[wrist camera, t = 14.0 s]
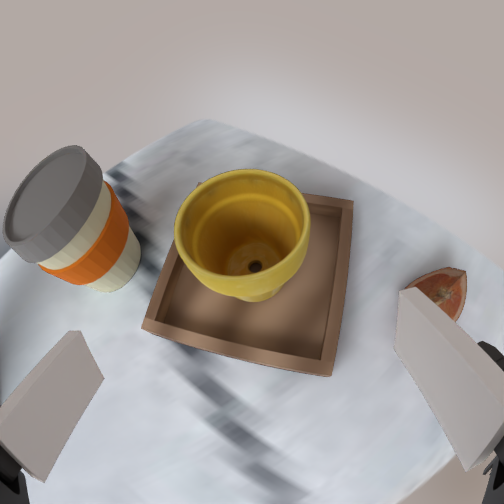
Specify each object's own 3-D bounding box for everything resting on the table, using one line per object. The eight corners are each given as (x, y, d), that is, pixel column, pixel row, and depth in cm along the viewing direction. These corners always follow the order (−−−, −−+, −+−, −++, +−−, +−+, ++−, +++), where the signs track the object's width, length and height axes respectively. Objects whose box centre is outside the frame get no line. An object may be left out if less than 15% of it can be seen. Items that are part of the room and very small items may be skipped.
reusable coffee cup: (167, 224, 35) (112, 137, 22) (132, 317, 29) (41, 259, 16) (99, 217, 37) (42, 149, 24) (66, 293, 32) (-12, 240, 19)
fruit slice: (431, 267, 27) (450, 247, 23) (462, 313, 24) (485, 298, 20) (380, 306, 26) (396, 289, 22) (413, 357, 23) (435, 350, 19)
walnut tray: (154, 334, 28) (141, 328, 26) (204, 197, 36) (198, 182, 33) (326, 377, 24) (331, 375, 21) (349, 216, 32) (353, 200, 29)
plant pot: (263, 212, 32) (251, 149, 24) (326, 274, 28) (340, 221, 19) (189, 266, 30) (151, 215, 22) (245, 340, 26) (221, 314, 17)
